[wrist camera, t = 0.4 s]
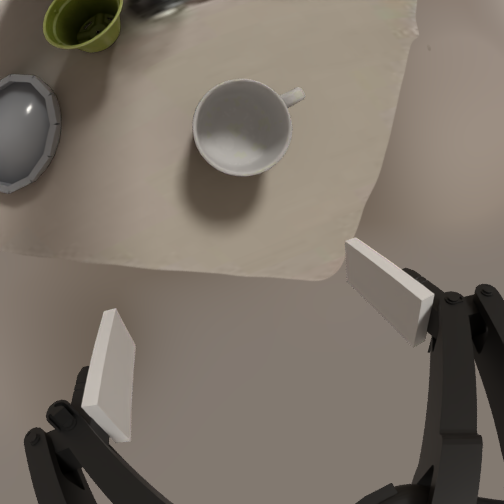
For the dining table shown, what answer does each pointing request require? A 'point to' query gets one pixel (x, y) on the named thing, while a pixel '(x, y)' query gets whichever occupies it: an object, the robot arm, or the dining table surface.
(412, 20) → the dining table surface
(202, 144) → the teacup
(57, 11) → the plant pot
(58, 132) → the saucer
